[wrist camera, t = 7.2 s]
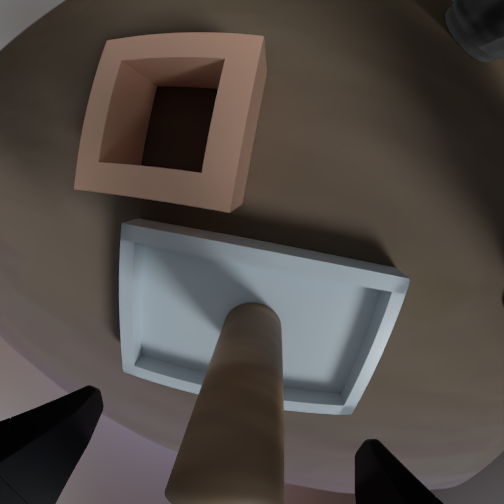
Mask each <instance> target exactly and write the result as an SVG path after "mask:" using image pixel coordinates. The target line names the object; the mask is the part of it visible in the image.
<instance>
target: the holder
mask: <svg viewBox="0 0 504 504" xmlns="http://www.w3.org/2000/svg"><path fill="white" fill-rule="evenodd" d="M266 76H267V67H266V54H265V42H264V36H258V35H248V34H235V33H213V32H186V33H164V34H151V35H142V36H133V37H126V38H119V39H113V40H107V42H106V44H105V47H104V50H103V53H102V56H101V59H100V62H99V65H98V68H97V72H96V75H95V79H94V82H93V86H92V89H91V93H90V97H89V101H88V105H87V110H86V114H85V119H84V124H83V129H82V134H81V140H80V146H79V152H78V159H77V167H76V175H75V185H74V189H76V190H84V191H92V192H100V193H107V194H115V195H122V196H129V197H136V198H143V199H149V200H156V201H162V202H169V203H175V204H181V205H187V206H193V207H199V208H205V209H211V210H217V211H223V212H228V213H230V212H232V211H233V210H235V209H236V208H237V207H239V206H240V205H242V204H243V199H244V193H245V187H246V182H247V176H248V171H249V165H250V160H251V154H252V149H253V143H254V138H255V133H256V127H257V122H258V117H259V112H260V106H261V101H262V96H263V91H264V86H265V81H266ZM157 86H172V87H199V88H213V89H218V91H217V96H216V100H215V105H214V110H213V115H212V119H211V124H210V130H209V135H208V140H207V145H206V151H205V156H204V162H203V168H202V173H201V172H194V171H186V170H179V169H170V168H162V167H153V166H143V165H141V164H142V158H143V152H144V146H145V141H146V135H147V130H148V125H149V120H150V115H151V111H152V106H153V102H154V98H155V94H156V89H157Z"/></svg>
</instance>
